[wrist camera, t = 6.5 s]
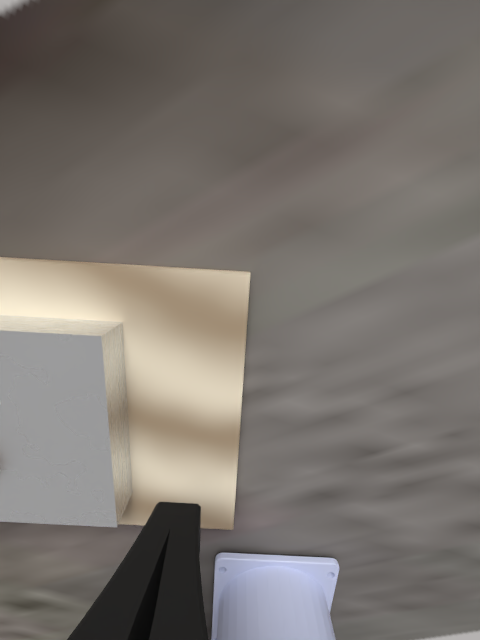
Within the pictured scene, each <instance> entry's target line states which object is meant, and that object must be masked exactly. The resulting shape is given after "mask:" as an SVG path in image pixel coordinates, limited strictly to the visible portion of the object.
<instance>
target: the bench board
mask: <svg viewBox="0 0 480 640" xmlns="http://www.w3.org/2000/svg"><path fill="white" fill-rule="evenodd" d="M249 287H250V272H245V271H228V270H211V269H194V268H177V267H160V266H143V265H126V264H109V263H92V262H75V261H58V260H41V259H24V258H7V257H0V315H9V316H27V317H44V318H61V319H79V320H96V321H113V322H123V339H124V356H125V373H126V389H127V406H128V423H129V440H130V456H131V473H132V490H133V492H132V495H131V497H130V499H129V501H128V504H127V506H126V508H125V511H124V513H123V515H122V517H121V520H120V522H119V524H126V525H145V524H146V522H147V521H148V519H149V517H150V515H151V513H152V512H153V510H154V508H155V506H156V504H157V503H159V502H176V503H195V504H199V505H200V506H201V526H200V528H207V529H228V530H233V524H234V510H235V495H236V480H237V465H238V450H239V435H240V420H241V405H242V391H243V376H244V361H245V346H246V331H247V316H248V301H249Z"/></svg>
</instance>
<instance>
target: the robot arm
mask: <svg viewBox="0 0 480 640" xmlns="http://www.w3.org/2000/svg"><path fill="white" fill-rule="evenodd" d="M200 526H201V506H200V505H199V504H195V503H176V502H159V503H157V504H156V506H155V508H154V510H153V512H152V513H151V515H150V517H149V519H148V521H147V522H146V524H145V526H144V528H143V529H142V531H141V533H140V534H139V536H138V538H137V539H136V541H135V542H134V544H133V546H132V547H131V549H130V550H129V552H128V554H127V555H126V557H125V558H124V560H123V561H122V563H121V564H120V566H119V567H118V569H117V570H116V572H115V573H114V575H113V576H112V578H111V579H110V581H109V582H108V584H107V585H106V587H105V588H104V590H103V591H102V592H101V594H100V595H99V597H98V598H97V599H96V601H95V602H94V604H93V605H92V606H91V608H90V609H89V611H88V612H87V613H86V615H85V616H84V618H83V619H82V620H81V622H80V623H79V625H78V626H77V627H76V629H75V630H74V631H73V633H72V634H71V635H70V637H69V638H68V639H67V640H208V635H207V628H206V620H205V613H204V605H203V596H202V586H201V575H200V563H199V553H200ZM338 573H339V565H338V562H337V560H336V559H334V558H327V557H306V556H286V555H265V554H245V553H224V552H223V553H219V554H217V555H216V558H215V574H214V596H213V617H212V639H211V640H336V639H335V635H334V631H333V626H332V622H331V618H330V610H331V605H332V600H333V596H334V591H335V587H336V582H337V577H338Z"/></svg>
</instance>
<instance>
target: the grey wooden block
mask: <svg viewBox="0 0 480 640" xmlns="http://www.w3.org/2000/svg"><path fill="white" fill-rule="evenodd" d="M132 492H133V490H132V473H131V456H130V440H129V423H128V406H127V389H126V373H125V356H124V339H123V322H113V321H96V320H79V319H61V318H44V317H27V316H9V315H0V522H20V523H40V524H60V525H80V526H100V527H118V524H119V522H120V520H121V517H122V515H123V513H124V511H125V508H126V506H127V504H128V501H129V499H130V497H131V495H132Z"/></svg>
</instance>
